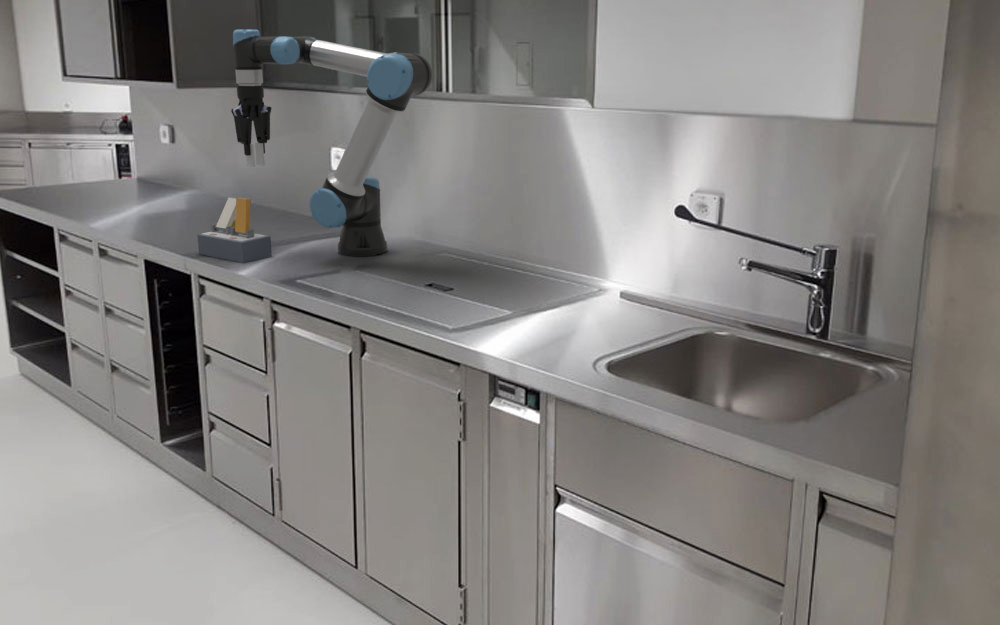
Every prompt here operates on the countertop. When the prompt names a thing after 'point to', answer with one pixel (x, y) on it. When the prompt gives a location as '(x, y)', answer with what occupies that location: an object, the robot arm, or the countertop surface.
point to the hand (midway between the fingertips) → (255, 165)
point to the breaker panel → (234, 245)
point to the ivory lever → (227, 215)
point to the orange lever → (242, 216)
